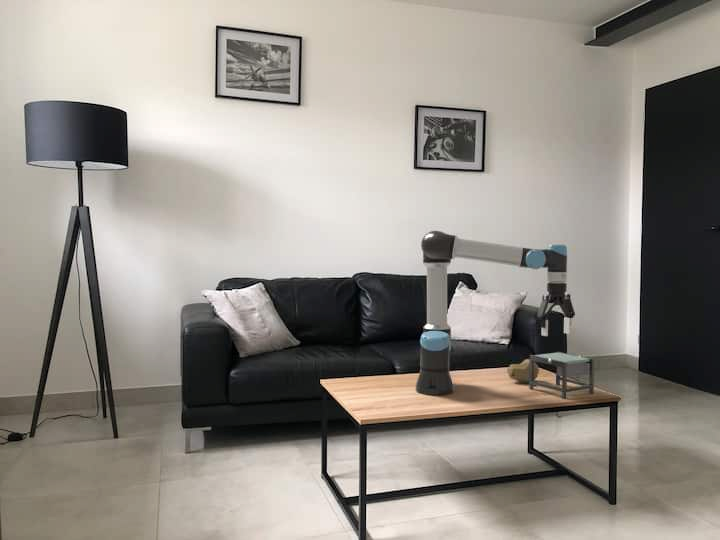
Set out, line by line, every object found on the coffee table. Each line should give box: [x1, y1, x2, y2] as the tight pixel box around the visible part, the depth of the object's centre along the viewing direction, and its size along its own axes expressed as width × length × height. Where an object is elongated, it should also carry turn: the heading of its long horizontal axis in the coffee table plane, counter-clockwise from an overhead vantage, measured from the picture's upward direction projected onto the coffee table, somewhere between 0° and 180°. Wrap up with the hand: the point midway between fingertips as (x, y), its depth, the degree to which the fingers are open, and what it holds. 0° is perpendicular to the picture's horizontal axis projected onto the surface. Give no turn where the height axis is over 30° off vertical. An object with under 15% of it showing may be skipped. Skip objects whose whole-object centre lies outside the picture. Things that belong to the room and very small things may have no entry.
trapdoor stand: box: [528, 351, 595, 400], centre depth 240 cm, size 18×18×14 cm
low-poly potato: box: [506, 358, 540, 384], centre depth 256 cm, size 15×11×12 cm
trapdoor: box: [533, 352, 590, 377], centre depth 240 cm, size 14×16×6 cm
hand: (555, 334), depth 242 cm, fingers open, 13 cm apart
